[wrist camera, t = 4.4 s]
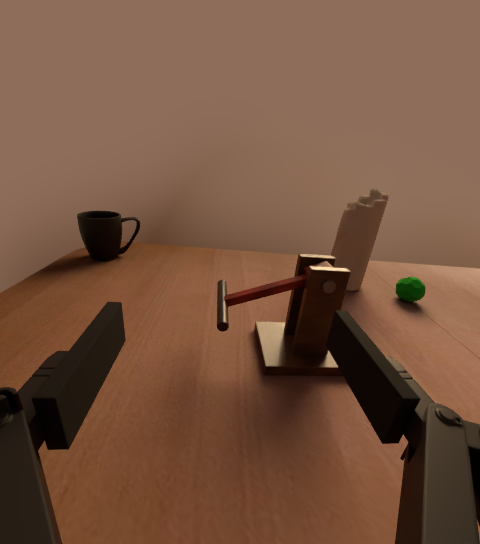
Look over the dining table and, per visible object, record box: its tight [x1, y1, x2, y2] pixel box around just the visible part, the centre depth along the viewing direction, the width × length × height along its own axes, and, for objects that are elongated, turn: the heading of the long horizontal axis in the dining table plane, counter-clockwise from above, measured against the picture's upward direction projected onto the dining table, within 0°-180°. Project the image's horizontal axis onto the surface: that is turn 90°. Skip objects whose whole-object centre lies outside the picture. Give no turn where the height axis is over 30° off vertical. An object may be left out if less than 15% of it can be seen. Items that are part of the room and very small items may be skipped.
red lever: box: [217, 261, 333, 331], centre depth 31 cm, size 14×10×2 cm
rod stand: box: [255, 254, 351, 376], centre depth 32 cm, size 12×9×13 cm
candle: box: [331, 189, 388, 291], centre depth 53 cm, size 7×14×20 cm, turn 91°
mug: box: [77, 211, 140, 261], centre depth 57 cm, size 8×12×10 cm
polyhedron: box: [396, 277, 425, 302], centre depth 51 cm, size 5×5×5 cm
